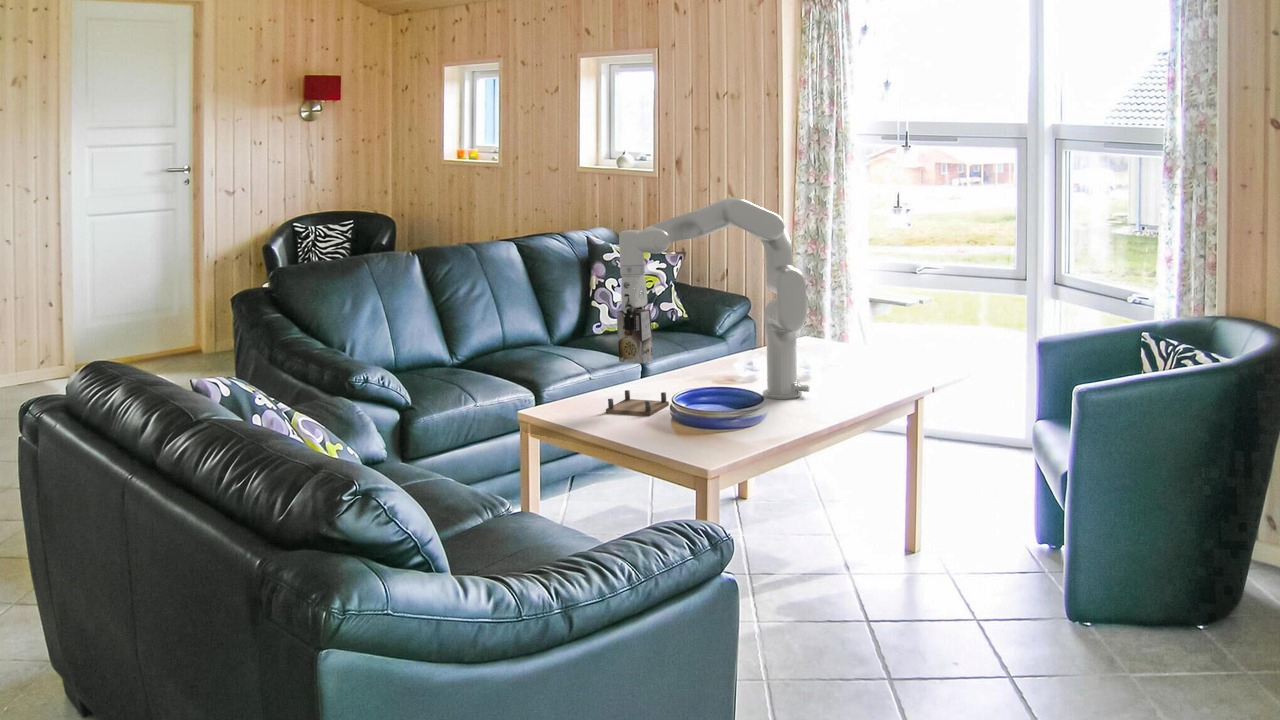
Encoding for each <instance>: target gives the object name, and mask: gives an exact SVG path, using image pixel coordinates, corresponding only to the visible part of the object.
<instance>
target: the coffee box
mask: <svg viewBox="0 0 1280 720" xmlns="http://www.w3.org/2000/svg"><path fill="white" fill-rule="evenodd" d="M629 311H630V312H631V310H629ZM651 313H652V311H651V309H647V308H644V309H634V313H633V317H634V322H635V329H634V330H625V326H624V316H623V315H624V313H623V310H622V309H621V310H618V311H616V323H617V325H616V326H617V344H618V363H630V364H631V363H634V364H646V363H649V362H653V360H654V359H653V357H654V356H653V338H652V337H653V335H652V314H651Z"/></svg>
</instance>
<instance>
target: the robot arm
mask: <svg viewBox="0 0 1280 720" xmlns="http://www.w3.org/2000/svg"><path fill="white" fill-rule="evenodd" d="M732 226H734V227H738V228H740V230H743V231H746V232H748V233H750V234H751V236H753V237H755V238H756V239H759V240H760V241H761V243H762V245H763V248H764V253H765V268H766V269H765V271H766V272H765V273H766V276H765V278H766V280H765V281H766V286H767V288H768V290H769V291H770V292H772V293H773V294H775V295H777V296H776V298H773V299H771V300H770V301H769V302H768V303H766V306H765V308H764V313H763V320H764V327H765V334H766V335H765V336H766V376H767V378H766V382H767V383H766V384H767V389H764V390H763V391H762V396H763V397H764V398H767V399H771V400H772V399H773V400H788V399H789V400H791V399H796V398H800V397H801V396H802V395H803V394H802V393H804V392H805V393H808V392H809V393H810V390H811V389H810V385H808V384H801V383H800V380H797V379H798V373H797V372H798V370H797V369H798V368H797V364H798V363H797V335H796V334H797V333H796V332H797V331H800V330H801V329H802V328H803V326H804V325H805V323H806V321H807V314H808V313H807V310H808V309H807V305H808V304H807V285H806V284H807V283H806V280H805V277H804V274H803V273H802V272H801V270H799V269H798V268H796V267H794V259H793V255H794V254H793V245H792V242H791V239H790V235H789V234H788V232H787V230H786V228H785V223H784V220H783V218H782V217H781V216H780V215H779V214H777V213H776V212H772V211H770V210H768V209H766V208H764V207H762V206H761V207H760V206H759V205H757V204H754V203H752V202H751V201H748V200H747V199H742V198H738V197H729V198H725V199H721V200H719V201H717V202H714V203H711V204H708V205H706V206H703V207H701V208H698V209H696V210H691V211H690V212H686V213H684V214H680V215H677V216H673V217H671V218H669V219H668V218H667V219H665V220H662V221H660V222H655V224H651V225H649V226H647V227H645V228H644V229H642V230H638V229H629V230H628V229H627V230H622V231H620V232H619V234H618V244H619V245H618V247H619V269H620V271H619V272H620V277H621V288H620V289H621V293H620V295H621V297H620V298H621V299H620V301H621V310H623V313H624V315H623V316H624V326H625V330H634V329H635V322H634V317H633V313H634V309H645V307H646V306H647V304H648V290H647V282H646V277H645V275H646V271H645V270H646V269H645V265H646V264H645V254H663V253H664V252H666V251H667V250H668V249H669V247H670V245H671V244H672V243H674V242H679V241H683V240H693V239H694V240H695V239H699V238H704V237H706V236H709V235H711V234H714V233H716V232H719V231H722V230H725V229H727V228H729V227H732ZM629 310H631V312H630V311H629Z"/></svg>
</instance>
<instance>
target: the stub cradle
mask: <svg viewBox="0 0 1280 720" xmlns="http://www.w3.org/2000/svg"><path fill="white" fill-rule="evenodd" d="M630 392H631V391H630V390H628V389H626V390H624V399H622V400H620V401H619V402H617V403H615V404H614V398H607V403H608V404H607V405H608V406H607V408H606V409H605V413H606V414H615V415H616V414H617V415H630V416H631V415H633V416H645V417H646V416H647V417H651V416H652V415H654V414H656V413H658V412H660V411H662V410H663V409H664V408H666V407H668V406H669V405H670V401H667V392H664V391H663V392H660V399H661V400H652V399H651V400H650V399H633V398H631V393H630Z"/></svg>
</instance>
